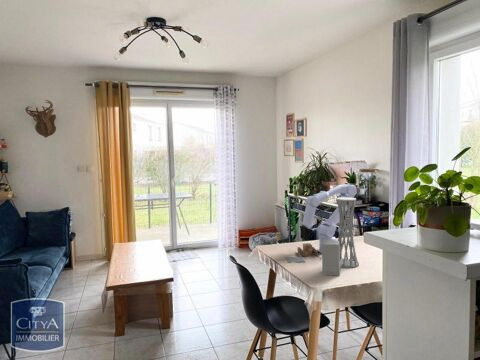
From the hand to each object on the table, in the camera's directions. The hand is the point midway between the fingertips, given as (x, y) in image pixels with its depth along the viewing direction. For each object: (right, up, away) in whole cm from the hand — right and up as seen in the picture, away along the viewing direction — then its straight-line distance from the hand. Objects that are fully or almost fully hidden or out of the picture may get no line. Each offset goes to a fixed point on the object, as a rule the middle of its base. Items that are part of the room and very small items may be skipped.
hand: (303, 239), depth 204 cm
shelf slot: (+2, -9, +1) cm, 9 cm away
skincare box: (+7, -12, -32) cm, 35 cm away
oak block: (+2, -9, +1) cm, 9 cm away
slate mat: (-6, -10, -10) cm, 15 cm away
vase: (+19, -10, -18) cm, 28 cm away
